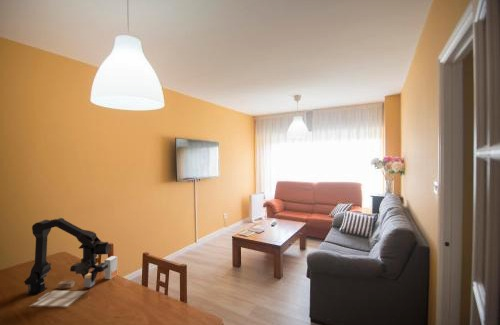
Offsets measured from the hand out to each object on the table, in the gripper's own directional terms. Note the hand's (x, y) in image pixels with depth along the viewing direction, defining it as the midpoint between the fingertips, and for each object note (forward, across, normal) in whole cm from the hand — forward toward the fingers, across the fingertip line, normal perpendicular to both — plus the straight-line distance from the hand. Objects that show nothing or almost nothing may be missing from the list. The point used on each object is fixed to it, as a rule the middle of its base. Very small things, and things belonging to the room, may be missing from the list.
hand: (89, 281), depth 133 cm
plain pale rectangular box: (+3, -14, 0) cm, 14 cm away
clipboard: (+3, -8, -11) cm, 14 cm away
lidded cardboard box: (+2, 0, 0) cm, 2 cm away
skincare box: (+4, +5, +12) cm, 13 cm away
